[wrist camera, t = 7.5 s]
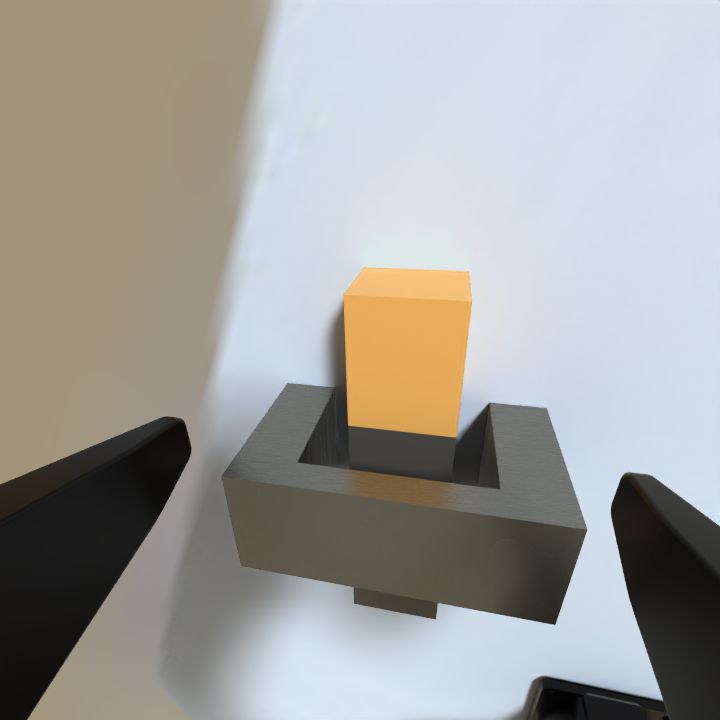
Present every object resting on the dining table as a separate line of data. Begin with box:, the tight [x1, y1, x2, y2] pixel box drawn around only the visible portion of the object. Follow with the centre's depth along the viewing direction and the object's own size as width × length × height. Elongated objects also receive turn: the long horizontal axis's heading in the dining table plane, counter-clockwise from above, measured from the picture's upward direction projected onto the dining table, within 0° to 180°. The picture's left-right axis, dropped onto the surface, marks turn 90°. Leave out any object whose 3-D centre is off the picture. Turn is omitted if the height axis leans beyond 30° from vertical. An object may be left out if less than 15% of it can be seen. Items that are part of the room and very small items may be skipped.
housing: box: [222, 383, 587, 625], centre depth 15 cm, size 4×10×6 cm, turn 91°
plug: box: [344, 267, 472, 619], centre depth 16 cm, size 14×4×3 cm, turn 1°
